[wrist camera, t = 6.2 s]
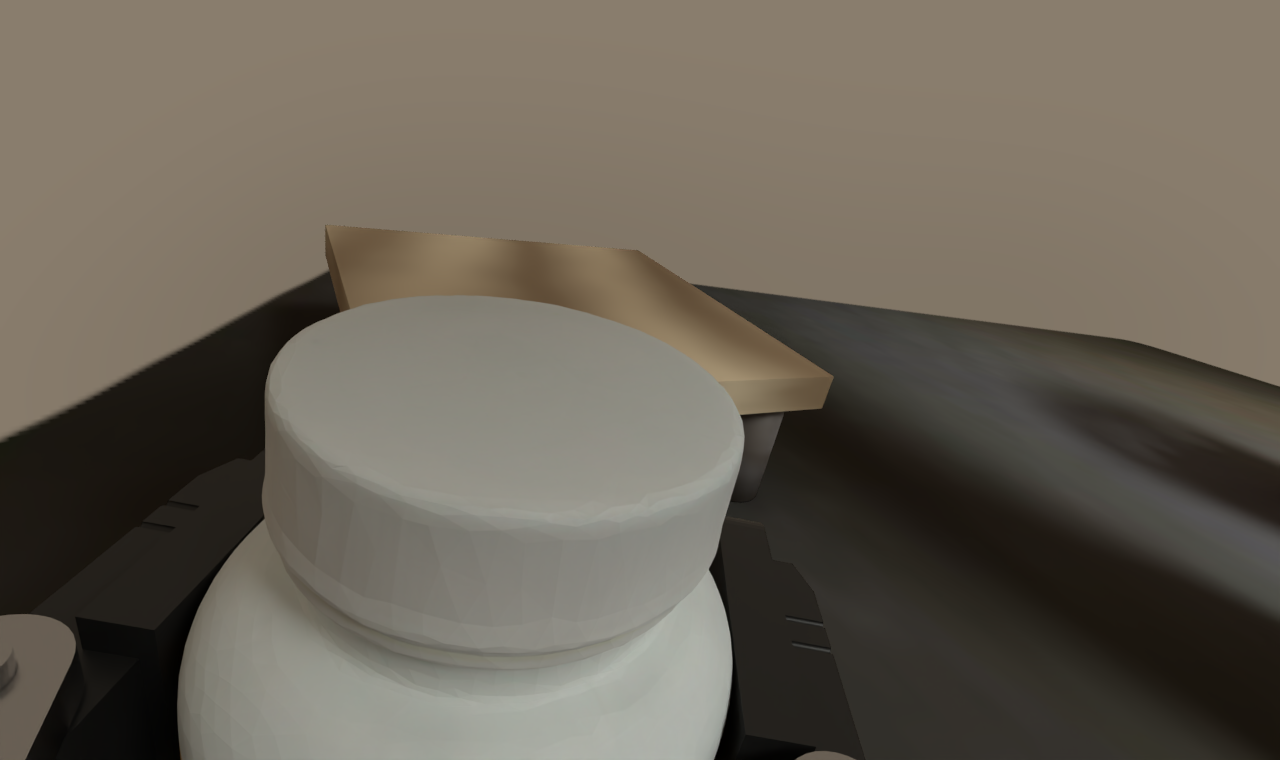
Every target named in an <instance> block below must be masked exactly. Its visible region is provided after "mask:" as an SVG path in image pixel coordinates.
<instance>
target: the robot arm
mask: <svg viewBox="0 0 1280 760" xmlns="http://www.w3.org/2000/svg"><path fill="white" fill-rule="evenodd" d="M264 477H265V449H264V450H263V451H262V452H260V453H259V454H258V455H257V456H256V457H255V458H254V459H253V460H246V459H240V458H237V459H235V460H233V461H230V462H228V463H226V464H224V465H221V466H219V467H217V468H214V469H212V470H210V471H208V472H205V473H203V474H201V475H198V476H197V477H196V478H195V479H193V480H192V481H191V482H190V483H188V484H187V485H186V486H185V487H184V488H182V489H181V490H180V491H179V492H177V493H176V494H175V495H174V496H173V497H171V498H170V499H169V500H168V503H167V505H166V506H164V505H161V506H160V507H159V508H158V509H157V510H155V511H154V512H153V513H152V514H150V515H149V516H148V517H147V518H146V519H144V520H143V521H142V525H141V526H140V527H134V528H133V529H132V530H131V531H130V532H128V533H127V534H126V535H125V536H123V537H122V538H121V539H120V540H118V541H117V542H116V543H115V544H114V545H112V546H111V547H110V548H109V549H107V550H106V551H105V552H104V553H103V554H101V555H100V556H99V557H98V558H96V559H95V560H94V561H93V562H91V563H90V564H89V565H88V566H87V567H85V568H84V569H83V570H82V571H80V572H79V573H78V574H77V575H76V576H74V577H73V578H72V579H71V580H69V581H68V582H67V583H66V584H64V585H63V586H62V587H61V588H60V589H58V590H57V591H56V592H55V593H53V594H52V595H51V596H50V597H49V598H47V599H46V600H45V601H44V602H42V603H41V604H40V605H39V606H37V607H36V608H35V609H34V610H33V611H31V612H30V613H29V614H15V615H3V616H0V760H181V758H180V747H179V736H178V717H177V699H178V682H179V673H180V668H181V663H182V658H183V653H184V648H185V644H186V641H187V638H188V635H189V632H190V629H191V626H192V623H193V621H194V618H195V615H196V613H197V610H198V608H199V606H200V604H201V602H202V600H203V598H204V596H205V594H206V593H207V591H208V589H209V587H210V585H211V583H212V582H213V580H214V578H215V577H216V575H217V574H218V572H219V571H220V569H221V568H222V566H223V565H224V563H225V562H226V561H227V559H228V558H229V557H230V555H231V554H232V553H233V551H234V550H235V549H236V548H237V547H238V546H239V545H240V543H241V542H242V541H243V540H244V539H245V538H246V537H247V536H248V535H249V534H250V533H251V532H252V531H253V530H254V529H255V528H256V527H257V526H258V525H259V524H260V523H261V522H262V521H263V520H264V519H265V517H264V512H263V506H262V489H263V482H264ZM709 571H710V573H711V575H712V577H713V579H714V582H715V584H716V586H717V589H718V591H719V594H720V597H721V599H722V602H723V605H724V609H725V612H726V616H727V621H728V626H729V631H730V636H731V646H732V658H733V675H732V690H731V698H730V706H729V710H728V715H727V719H726V723H725V728H724V732H723V735H722V738H721V741H720V744H719V747H718V750H717V752H716V755H715V758H714V760H865V757H864V754H863V750H862V747H861V744H860V741H859V737H858V734H857V731H856V728H855V724H854V721H853V718H852V715H851V711H850V708H849V705H848V702H847V698H846V695H845V692H844V688H843V685H842V682H841V679H840V675H839V672H838V669H837V666H836V662H835V659H834V656H833V654H831V653H830V650H831V646H830V643H829V640H828V636H827V633H826V630H825V628H823V620H822V617H821V613H820V610H819V607H818V604H817V600H816V597H815V594H814V591H813V590H812V589H811V587H810V586H809V585H808V583H807V582H806V581H805V580H804V578H803V577H802V576H801V574H800V573H799V572H798V570H797V569H796V568H795V566H794V565H793V564H791V563H785V562H780V561H775V560H772V557H771V553H770V548H769V544H768V540H767V536H766V532H765V528H764V526H763V524H762V523H758V522H753V521H748V520H742V519H737V518H732V517H727V516H725V519H724V522H723V525H722V530H721V535H720V540H719V544H718V548H717V552H716V555H715V557H714V559H713V561H712V563H711V565H710V567H709Z"/></svg>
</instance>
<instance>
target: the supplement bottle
mask: <svg viewBox="0 0 1280 760" xmlns="http://www.w3.org/2000/svg"><path fill="white" fill-rule="evenodd" d="M744 438H745V436H744V428H743V421H742V419H741V416H740V414H739V412H738V410H737V408H736V406H735V403H734V402H733V400H732V398H731V397H730V395H729V394H728V393H727V392H726V390H725V389H724V387H723V386H721V385H720V384H719V383H718V382H717V380H716V379H715V378H714V377H713V376H712V375H711V374H710V373H708V372H707V371H706V370H705V369H703V368H702V367H701V366H700V365H699V364H698V363H696V362H695V361H694V360H692V359H691V358H690V357H688V356H686V355H685V354H683V353H682V352H680V351H679V350H677V349H675V348H674V347H672V346H670V345H668V344H667V343H665V342H663V341H661V340H659V339H657V338H655V337H653V336H650V335H648V334H646V333H644V332H642V331H640V330H637V329H634V328H631V327H629V326H626V325H623V324H621V323H618V322H615V321H612V320H609V319H605V318H602V317H599V316H596V315H592V314H589V313H586V312H582V311H578V310H574V309H570V308H566V307H562V306H558V305H554V304H548V303H541V302H535V301H527V300H520V299H513V298H502V297H491V296H467V295H453V296H442V295H435V296H416V297H407V298H398V299H391V300H386V301H381V302H376V303H370V304H364V305H361V306H358V307H356V308H353V309H349V310H346V311H343V312H340V313H337V314H335V315H333V316H331V317H329V318H326V319H324V320H321V321H318V322H316V323H314V324H312V325H311V326H309V327H307V328H305V329H303V330H302V331H300V332H299V333H298V334H296V335H295V336H294V337H292V338H291V339H290V340H289V341H288V342H287V343H286V344H285V346H284V347H283V348H282V349H281V350H280V351H279V353H278V354H277V356H276V357H275V359H274V360H273V362H272V363H271V365H270V369H269V373H268V376H267V380H266V386H265V477H264V482H263V489H262V506H263V512H264V517H265V519H264V520H263V521H262V522H261V523H260V524H259V525H258V526H257V527H256V528H255V529H254V530H253V531H252V532H251V533H250V534H249V535H248V536H247V537H246V538H245V539H244V540H243V541H242V542H241V543H240V545H239V546H238V547H237V548H236V549H235V550H234V551H233V553H232V554H231V555H230V557H229V558H228V559H227V561H226V562H225V563H224V565H223V566H222V568H221V569H220V571H219V572H218V574H217V575H216V577H215V578H214V580H213V582H212V583H211V585H210V587H209V589H208V591H207V593H206V594H205V596H204V598H203V600H202V602H201V604H200V606H199V608H198V610H197V613H196V615H195V618H194V621H193V623H192V626H191V629H190V632H189V635H188V638H187V641H186V644H185V648H184V653H183V658H182V663H181V668H180V673H179V682H178V699H177V717H178V736H179V747H180V758H181V760H714V758H715V755H716V752H717V750H718V747H719V744H720V741H721V738H722V735H723V732H724V728H725V723H726V719H727V715H728V710H729V706H730V698H731V690H732V675H733V658H732V646H731V636H730V631H729V626H728V621H727V616H726V612H725V609H724V605H723V602H722V599H721V597H720V594H719V591H718V589H717V586H716V584H715V582H714V579H713V577H712V575H711V573H710V571H709V567H710V565H711V563H712V561H713V559H714V557H715V555H716V552H717V548H718V544H719V540H720V535H721V530H722V525H723V522H724V519H725V515H726V512H727V509H728V505H729V502H730V499H731V496H732V492H733V489H734V486H735V483H736V479H737V476H738V473H739V470H740V465H741V461H742V455H743V449H744Z"/></svg>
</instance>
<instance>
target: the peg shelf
mask: <svg viewBox="0 0 1280 760" xmlns="http://www.w3.org/2000/svg"><path fill="white" fill-rule="evenodd" d="M325 228H326V230H325V240H326V241H325V242H326V243H325V246H326V248H325V249H326V259H327V263H328V267H329V270H330V274H331V278H332V282H333V286H334V290H335V294H336V297H337V301H338V305H339V309H340V312H343V311H346V310H349V309H353V308H356V307H358V306H361V305H364V304H370V303H376V302H381V301H386V300H391V299H398V298H407V297H416V296H435V295H442V296H453V295H467V296H491V297H502V298H513V299H520V300H527V301H535V302H541V303H548V304H554V305H558V306H562V307H566V308H570V309H574V310H578V311H582V312H586V313H589V314H592V315H596V316H599V317H602V318H605V319H609V320H612V321H615V322H618V323H621V324H623V325H626V326H629V327H631V328H634V329H637V330H640V331H642V332H644V333H646V334H648V335H650V336H653V337H655V338H657V339H659V340H661V341H663V342H665V343H667V344H668V345H670V346H672V347H674V348H675V349H677V350H679V351H680V352H682V353H683V354H685V355H686V356H688V357H690V358H691V359H692V360H694V361H695V362H696V363H698V364H699V365H700V366H701V367H702V368H703V369H705V370H706V371H707V372H708V373H710V374H711V375H712V376H713V377H714V378H715V379H716V380H717V382H718V383H719V384H720V385H721V386H723V387H724V389H725V390H726V392H727V393H728V394H729V395H730V397H731V398H732V400H733V402H734V403H735V406H736V408H737V410H738V412H739V414H740V416H741V419H742V421H743V428H744V436H745V438H744V449H743V455H742V461H741V465H740V470H739V473H738V476H737V479H736V483H735V486H734V489H733V492H732V496H731V499H730V501H735V502H747V501H750V500H752V499H754V498H755V497H756V494H757V491H758V488H759V485H760V483H761V480H762V477H763V474H764V471H765V468H766V465H767V462H768V459H769V456H770V453H771V450H772V448H773V445H774V442H775V439H776V436H777V433H778V430H779V427H780V424H781V421H782V418H783V415H784V412H785V411H796V410H808V409H821V408H822V407H823V404H824V402H825V399H826V396H827V393H828V391H829V388H830V385H831V383H832V380H833V376H832V375H830V374H829V373H827V372H826V371H824V370H823V369H821V368H820V367H818V366H816V365H815V364H813V363H812V362H810V361H809V360H807V359H806V358H804V357H802V356H801V355H799V354H798V353H796V352H795V351H793V350H792V349H790V348H789V347H787V346H785V345H784V344H782V343H781V342H779V341H778V340H776V339H775V338H773V337H772V336H770V335H768V334H767V333H765V332H764V331H762V330H761V329H759V328H758V327H756V326H754V325H753V324H751V323H750V322H748V321H747V320H745V319H744V318H742V317H741V316H739V315H737V314H736V313H734V312H733V311H731V310H730V309H728V308H727V307H725V306H724V305H722V304H720V303H719V302H717V301H716V300H714V299H713V298H711V297H710V296H708V295H706V294H705V293H703V292H702V291H700V290H699V289H697V288H696V287H694V286H693V285H691V284H689V283H688V282H686V281H685V280H683V279H682V278H680V277H679V276H677V275H675V274H674V273H672V272H671V271H669V270H668V269H666V268H665V267H663V266H662V265H660V264H658V263H657V262H655V261H654V260H652V259H650V258H649V257H648V256H646V255H644V254H643V253H641V252H640V251H638V250H625V249H614V248H602V247H590V246H576V245H565V244H552V243H541V242H529V241H516V240H503V239H492V238H479V237H467V236H455V235H443V234H431V233H418V232H407V231H394V230H381V229H370V228H358V227H346V226H334V225H325Z"/></svg>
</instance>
